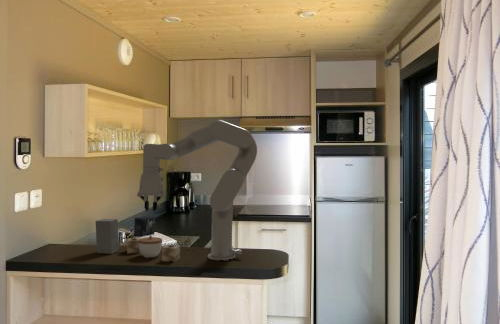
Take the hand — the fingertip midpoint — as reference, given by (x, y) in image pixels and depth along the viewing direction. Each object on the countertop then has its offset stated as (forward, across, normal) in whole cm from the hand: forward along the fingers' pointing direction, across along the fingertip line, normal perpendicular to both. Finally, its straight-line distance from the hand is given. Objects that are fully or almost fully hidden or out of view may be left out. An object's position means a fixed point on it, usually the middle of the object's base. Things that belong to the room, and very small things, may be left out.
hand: (150, 210), depth 190 cm
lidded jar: (+21, 0, 0) cm, 21 cm away
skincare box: (+21, +22, -5) cm, 31 cm away
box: (+21, +17, -51) cm, 58 cm away
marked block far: (+21, +10, -8) cm, 25 cm away
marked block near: (+21, -11, +6) cm, 25 cm away
